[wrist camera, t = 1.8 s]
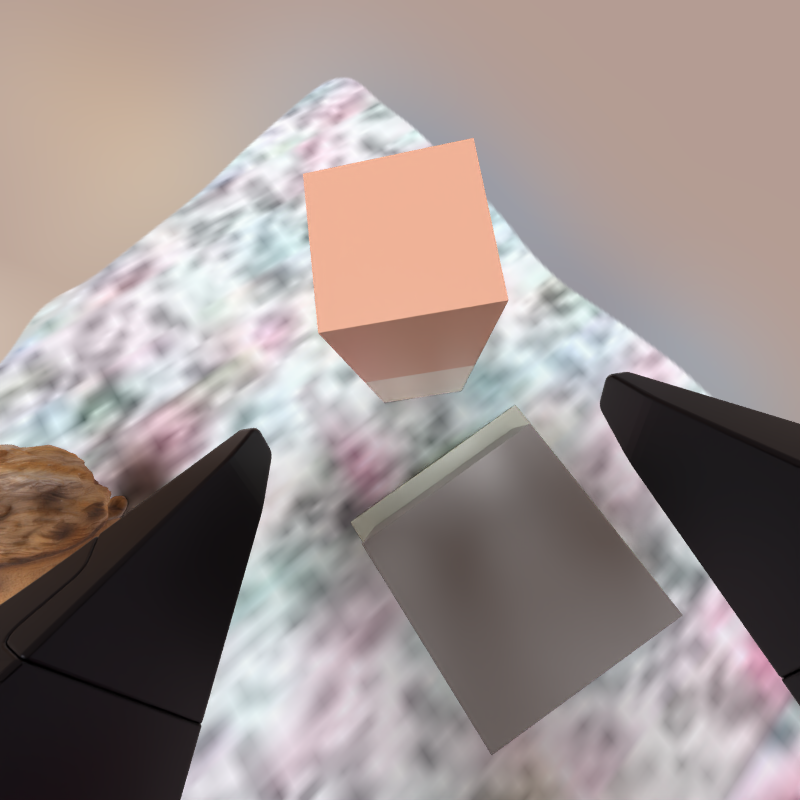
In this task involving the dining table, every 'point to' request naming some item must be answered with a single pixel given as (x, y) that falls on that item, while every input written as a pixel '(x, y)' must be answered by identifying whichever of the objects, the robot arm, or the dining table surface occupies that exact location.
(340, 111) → the dining table surface
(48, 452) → the lion figurine
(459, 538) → the base brick
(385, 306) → the brick column
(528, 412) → the dining table surface
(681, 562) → the dining table surface
